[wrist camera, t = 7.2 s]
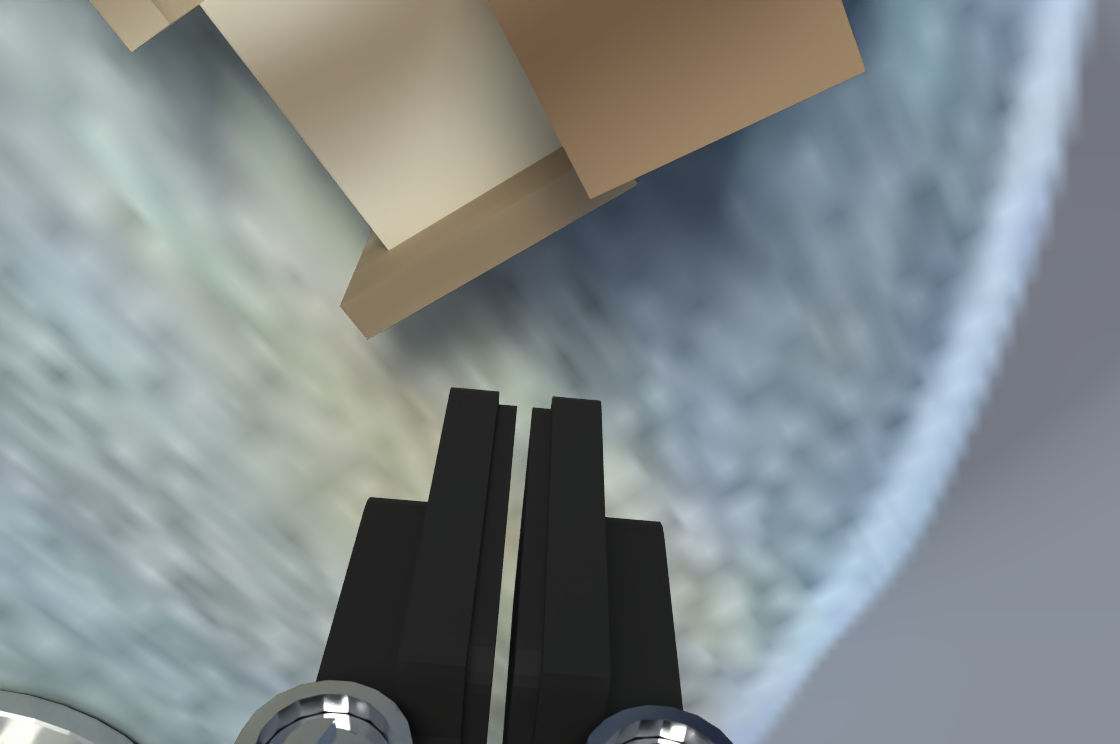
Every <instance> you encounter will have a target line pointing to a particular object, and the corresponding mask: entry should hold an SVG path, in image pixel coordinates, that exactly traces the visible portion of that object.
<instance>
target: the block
mask: <svg viewBox="0 0 1120 744" xmlns="http://www.w3.org/2000/svg"><path fill="white" fill-rule="evenodd" d="M488 2H489V4H490V6H491V8H492V10H493V12H494V14H495V16H496V17H497V19H498V21H499V23H500V25H501V27H502V29H503V31H504V33H505V35H506V37H507V39H508V41H509V43H510V45H511V47H512V49H513V50H514V52H515V54H516V56H517V58H518V60H519V62H520V64H521V66H522V68H523V70H524V72H525V74H526V76H527V78H528V80H529V82H530V83H531V85H532V87H533V89H534V91H535V93H536V95H537V97H538V99H539V101H540V103H541V105H542V107H543V109H544V111H545V113H546V115H547V116H548V118H549V120H550V122H551V124H552V126H553V128H554V130H555V132H556V134H557V136H558V138H559V140H560V142H561V144H562V146H563V148H564V149H565V151H566V153H567V155H568V157H569V159H570V161H571V163H572V165H573V167H574V169H575V171H576V173H577V175H578V177H579V179H580V181H581V182H582V184H583V186H584V188H585V190H586V192H587V194H588V196H589V198H590V199H592V198H594V197H596V196H598V195H601V194H603V193H605V192H607V191H609V190H611V189H613V188H616V187H618V186H620V185H622V184H624V183H626V182H629V181H631V180H633V179H635V178H637V177H639V176H641V175H644V174H646V173H648V172H650V171H652V170H654V169H656V168H659V167H661V166H663V165H665V164H667V163H669V162H672V161H674V160H676V159H678V158H680V157H682V156H684V155H687V154H689V153H691V152H693V151H695V150H697V149H699V148H702V147H704V146H706V145H708V144H710V143H712V142H715V141H717V140H719V139H721V138H723V137H725V136H727V135H730V134H732V133H734V132H736V131H738V130H740V129H742V128H745V127H747V126H749V125H751V124H753V123H755V122H758V121H760V120H762V119H764V118H766V117H768V116H770V115H773V114H775V113H777V112H779V111H781V110H783V109H785V108H788V107H790V106H792V105H794V104H796V103H798V102H801V101H803V100H805V99H807V98H809V97H811V96H813V95H816V94H818V93H820V92H822V91H824V90H826V89H828V88H831V87H833V86H835V85H837V84H839V83H841V82H844V81H846V80H848V79H850V78H852V77H854V76H856V75H859V74H861V73H863V72H865V71H866V70H865V67H864V64H863V61H862V58H861V55H860V52H859V50H858V47H857V44H856V41H855V38H854V35H853V32H852V29H851V27H850V24H849V21H848V18H847V15H846V12H845V9H844V6H843V3H842V1H841V0H488Z"/></svg>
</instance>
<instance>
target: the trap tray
mask: <svg viewBox="0 0 1120 744" xmlns="http://www.w3.org/2000/svg"><path fill="white" fill-rule="evenodd" d="M89 1H90V2H91V3H92V4H93V6H94V7H95V8H96V9H97V11H98V12H99V13H100V14H101V15H102V17H103V18H104V19H105V20H106V22H107V23H108V24H109V25H110V26H111V28H112V29H113V30H114V31H115V33H116V34H117V35H118V36H119V37H120V39H121V40H122V41H123V42H124V44H125V45H126V46H127V47H128V48H129V50H130V51H131V52H133V51H134V50H135V49H137V48H138V47H140V46H141V45H143V44H144V43H146V42H147V41H149V40H150V39H152V38H153V37H155V36H156V35H157V34H159V33H160V32H162V31H163V30H165V29H166V28H168V27H169V26H171V25H172V24H174V23H175V22H177V21H178V20H179V19H181V18H182V17H184V16H185V15H187V14H188V13H190V12H191V11H193V10H194V9H196V8H197V7H199V6H201V7H202V9H203V10H204V11H205V12H206V14H207V15H208V16H209V18H210V19H211V20H212V22H213V23H214V24H215V25H216V27H217V28H218V29H219V31H220V32H221V33H222V35H223V36H224V37H225V38H226V40H227V41H228V42H229V44H230V45H231V46H232V48H233V49H234V50H235V51H236V53H237V54H238V55H239V57H240V58H241V59H242V61H243V62H244V63H245V64H246V66H247V67H248V68H249V70H250V71H251V72H252V74H253V75H254V76H255V77H256V79H257V80H258V81H259V83H260V84H261V85H262V86H263V88H264V89H265V90H266V92H267V93H268V94H269V96H270V97H271V98H272V99H273V101H274V102H275V103H276V105H277V106H278V107H279V109H280V110H281V111H282V112H283V114H284V115H285V116H286V118H287V119H288V120H289V122H290V123H291V124H292V125H293V127H294V128H295V129H296V131H297V132H298V133H299V135H300V136H301V137H302V138H303V140H304V141H305V142H306V144H307V145H308V146H309V148H310V149H311V150H312V151H313V153H314V154H315V155H316V157H317V158H318V159H319V161H320V162H321V163H322V164H323V166H324V167H325V168H326V170H327V171H328V172H329V174H330V175H331V176H332V177H333V179H334V180H335V181H336V183H337V184H338V185H339V187H340V188H341V189H342V190H343V192H344V193H345V194H346V196H347V197H348V198H349V200H350V201H351V202H352V203H353V205H354V206H355V207H356V209H357V210H358V211H359V213H360V214H361V215H362V216H363V218H364V219H365V220H366V222H367V223H368V224H369V226H370V227H371V228H372V231H371V234H370V236H369V238H368V241H367V243H366V245H365V248H364V250H363V253H362V255H361V257H360V260H359V262H358V264H357V267H356V269H355V272H354V274H353V276H352V279H351V281H350V283H349V286H348V288H347V291H346V293H345V295H344V298H343V300H342V302H341V305H340V307H341V308H342V309H343V310H344V312H345V313H346V314H347V315H348V317H349V318H350V319H351V320H352V321H353V323H354V324H355V325H356V326H357V327H358V329H359V330H360V331H361V332H362V334H363V335H364V336H365V337H366V338H367V340H368V339H370V338H371V337H373V336H375V335H377V334H378V333H380V332H382V331H383V330H385V329H387V328H389V327H390V326H392V325H394V324H396V323H397V322H399V321H401V320H403V319H404V318H406V317H408V316H410V315H411V314H413V313H415V312H417V311H418V310H420V309H422V308H424V307H425V306H427V305H429V304H431V303H432V302H434V301H436V300H438V299H439V298H441V297H443V296H445V295H446V294H448V293H450V292H452V291H453V290H455V289H457V288H459V287H460V286H462V285H464V284H465V283H467V282H469V281H471V280H472V279H474V278H476V277H478V276H479V275H481V274H483V273H485V272H486V271H488V270H490V269H492V268H493V267H495V266H497V265H499V264H500V263H502V262H504V261H506V260H507V259H509V258H511V257H513V256H514V255H516V254H518V253H520V252H521V251H523V250H525V249H527V248H528V247H530V246H532V245H534V244H535V243H537V242H539V241H541V240H542V239H544V238H546V237H547V236H549V235H551V234H553V233H554V232H556V231H558V230H560V229H561V228H563V227H565V226H567V225H568V224H570V223H572V222H574V221H575V220H577V219H579V218H581V217H582V216H584V215H586V214H588V213H589V212H591V211H593V210H595V209H596V208H598V207H600V206H602V205H603V204H605V203H607V202H609V201H610V200H612V199H614V198H616V197H617V196H619V195H621V194H623V193H624V192H626V191H628V190H629V189H631V188H633V187H635V186H636V185H637V178H635V179H633V180H631V181H629V182H626V183H624V184H622V185H620V186H618V187H616V188H613V189H611V190H609V191H607V192H605V193H603V194H601V195H598V196H596V197H594V198H592V199H590V198H589V196H588V194H587V192H586V190H585V188H584V186H583V184H582V182H581V181H580V179H579V177H578V175H577V173H576V171H575V169H574V167H573V165H572V163H571V161H570V159H569V157H568V155H567V153H566V151H565V149H564V148H563V146H562V144H561V142H560V140H559V138H558V136H557V134H556V132H555V130H554V128H553V126H552V124H551V122H550V120H549V118H548V116H547V115H546V113H545V111H544V109H543V107H542V105H541V103H540V101H539V99H538V97H537V95H536V93H535V91H534V89H533V87H532V85H531V83H530V82H529V80H528V78H527V76H526V74H525V72H524V70H523V68H522V66H521V64H520V62H519V60H518V58H517V56H516V54H515V52H514V50H513V49H512V47H511V45H510V43H509V41H508V39H507V37H506V35H505V33H504V31H503V29H502V27H501V25H500V23H499V21H498V19H497V17H496V16H495V14H494V12H493V10H492V8H491V6H490V4H489V2H488V0H89Z"/></svg>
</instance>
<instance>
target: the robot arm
mask: <svg viewBox="0 0 1120 744" xmlns="http://www.w3.org/2000/svg"><path fill="white" fill-rule="evenodd" d="M516 413H517V406H511V405H499V392H498V391H487V390H476V389H465V388H453V387H452V388H451V389H450V394H449V399H448V404H447V409H446V414H445V419H444V424H443V429H442V434H441V439H440V444H439V449H438V454H437V459H436V464H435V469H434V474H433V479H432V484H431V489H430V494H429V499H428V502H421V501H410V500H398V499H386V498H375V497H370V498H369V499H368V500H367V503H366V506H365V509H364V512H363V515H362V519H361V522H360V526H359V530H358V533H357V537H356V540H355V544H354V547H353V551H352V555H351V558H350V562H349V565H348V569H347V573H346V576H345V580H344V583H343V587H342V590H341V594H340V598H339V601H338V605H337V608H336V612H335V615H334V619H333V623H332V626H331V630H330V633H329V637H328V640H327V644H326V648H325V651H324V655H323V658H322V662H321V665H320V669H319V673H318V676H317V680H316V682H313V683H307V684H302V685H299V686H297V687H295V688H292V689H290V690H287V691H285V692H283V693H280V694H278V695H276V696H275V697H274V698H272V699H271V700H270V701H268V702H267V703H266V704H264V705H263V706H262V707H260V708H259V709H258V710H257V711H256V712H255V713H254V714H253V716H252V717H251V718H250V720H249V721H248V722H247V724H246V725H245V726H244V728H243V729H242V730H241V732H240V734H239V736H238V738H237V739H236V741H235V743H234V744H487V733H488V722H489V711H490V700H491V689H492V678H493V667H494V656H495V646H496V635H497V624H498V613H499V602H500V591H501V580H502V569H503V558H504V546H505V535H506V524H507V513H508V502H509V491H510V480H511V468H512V457H513V446H514V435H515V424H516ZM0 744H134V743H133V742H132V741H130V740H129V739H128V738H127V737H125V736H124V735H122V734H121V733H119V732H117V731H115V730H114V729H112V728H110V727H109V726H107V725H105V724H103V723H102V722H100V721H98V720H97V719H95V718H92V717H90V716H88V715H85V714H83V713H81V712H78V711H76V710H74V709H71V708H69V707H67V706H64V705H61V704H58V703H54V702H51V701H48V700H44V699H41V698H37V697H34V696H30V695H26V694H20V693H14V692H8V691H2V690H0ZM503 744H733V743H732V742H731V741H730V740H729V739H728V738H727V737H726V735H725V734H724V733H723V732H722V731H721V730H720V729H718V728H717V727H715V726H714V725H712V724H710V723H709V722H707V721H706V720H704V719H703V718H701V717H699V716H698V715H695V714H692V713H689V712H686V711H683V705H682V696H681V687H680V678H679V669H678V659H677V650H676V641H675V632H674V622H673V613H672V604H671V595H670V586H669V576H668V567H667V558H666V549H665V539H664V532H663V527H662V525H661V523H660V522H656V521H644V520H632V519H620V518H609V517H605V496H604V468H603V439H602V410H601V401H598V400H587V399H576V398H565V397H554V396H553V398H552V404H551V409H544V408H533V409H532V418H531V428H530V438H529V448H528V458H527V468H526V478H525V489H524V499H523V509H522V519H521V529H520V539H519V549H518V559H517V569H516V579H515V589H514V600H513V612H512V625H511V638H510V651H509V665H508V678H507V691H506V704H505V717H504V731H503Z"/></svg>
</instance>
